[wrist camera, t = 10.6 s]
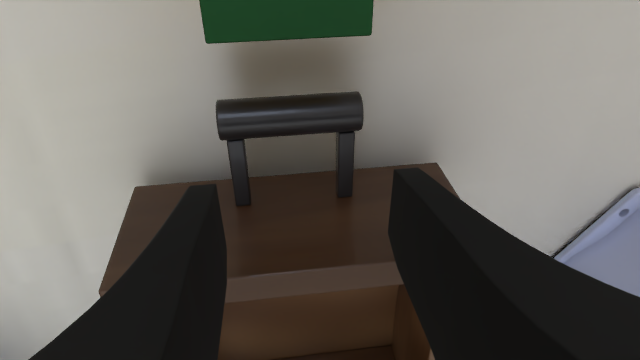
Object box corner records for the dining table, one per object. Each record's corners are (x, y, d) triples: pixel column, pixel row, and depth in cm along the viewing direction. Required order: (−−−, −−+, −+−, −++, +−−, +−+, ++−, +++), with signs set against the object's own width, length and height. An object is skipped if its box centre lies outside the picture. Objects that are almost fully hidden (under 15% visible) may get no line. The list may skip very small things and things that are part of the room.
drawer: (106, 88, 17) (49, 177, 12) (451, 68, 18) (525, 141, 13) (185, 360, 26) (170, 472, 21) (409, 333, 27) (444, 433, 22)
